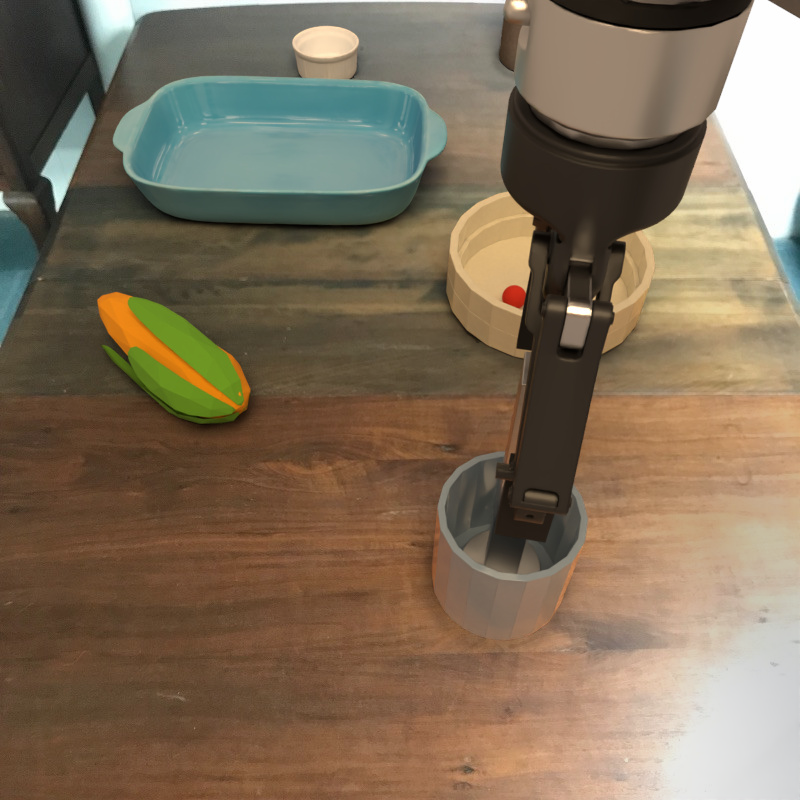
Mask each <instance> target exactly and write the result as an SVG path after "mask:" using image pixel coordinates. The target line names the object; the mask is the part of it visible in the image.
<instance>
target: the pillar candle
mask: <svg viewBox="0 0 800 800" xmlns="http://www.w3.org/2000/svg"><path fill="white" fill-rule="evenodd" d="M521 27H522V25H518V24H512V23H508V22H507V20H506V19H505V18H504V16H503V18H502V27H501V35H500V45H499V49H498V58H499V61H500V63H502V65H504V66H505V67H506V68H507V69H509V70H510V71H513V72H514V68H515V60H516V53H517V45H518V38H519V34H520V30H521Z"/></svg>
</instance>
